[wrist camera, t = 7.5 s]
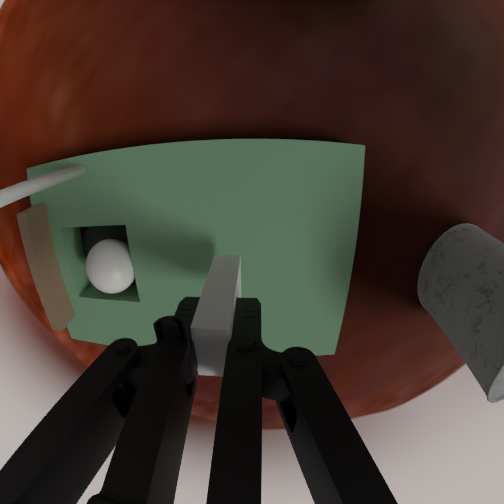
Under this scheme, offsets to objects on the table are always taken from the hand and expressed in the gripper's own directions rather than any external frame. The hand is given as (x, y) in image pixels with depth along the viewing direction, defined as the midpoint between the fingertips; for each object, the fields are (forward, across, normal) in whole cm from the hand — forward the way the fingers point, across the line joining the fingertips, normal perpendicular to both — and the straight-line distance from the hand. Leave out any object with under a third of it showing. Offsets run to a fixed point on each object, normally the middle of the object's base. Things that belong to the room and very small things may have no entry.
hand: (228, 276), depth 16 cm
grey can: (+5, +20, -2) cm, 21 cm away
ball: (+2, -9, 0) cm, 9 cm away
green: (+4, -4, 0) cm, 6 cm away
